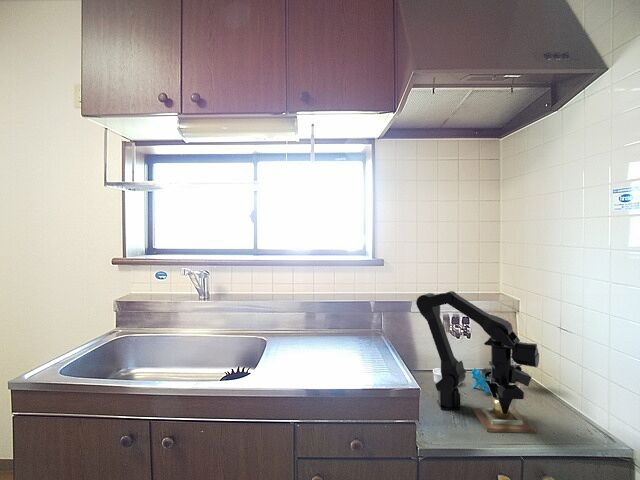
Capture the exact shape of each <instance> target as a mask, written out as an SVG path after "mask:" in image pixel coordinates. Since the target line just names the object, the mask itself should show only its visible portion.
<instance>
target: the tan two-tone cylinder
mask: <svg viewBox="0 0 640 480" xmlns="http://www.w3.org/2000/svg"><path fill="white" fill-rule="evenodd" d="M492 408H493V413H494V414H495V415H497V416H499V417H509V416H510V408H511V406H510V407H509V409H508V412H507V414H503V412H502V409H501V406H500V404H499V401H498V398H497V397H492Z"/></svg>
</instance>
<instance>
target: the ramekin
mask: <svg viewBox="0 0 640 480" xmlns="http://www.w3.org/2000/svg"><path fill="white" fill-rule="evenodd" d="M432 373H433V382H434V383H435V384H436V383H437V382H439V381H440V380H441V379H442V375H441V367H438V368H437V367H436V368H433V370H432Z"/></svg>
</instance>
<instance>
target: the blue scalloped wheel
mask: <svg viewBox="0 0 640 480" xmlns="http://www.w3.org/2000/svg"><path fill="white" fill-rule="evenodd" d="M470 374H471V378H472V379H474V380H473V381H474V383H475V384H473V385H472V387H471V388H472V389H475V388H477V387H478V388H479V389H480V390H481V391H482V390H483V389H484V390H483V392H484V393H485V394H487V393H488V394H491V392H490V390H489V388H488V386H487V384H486V382H485V381H488V377H487V379H484V378H483V377H482V370H481V369H479V368H478V369H477V368H476V367H474V368H473V369H472V371H471V372H470Z"/></svg>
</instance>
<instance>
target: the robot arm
mask: <svg viewBox="0 0 640 480" xmlns="http://www.w3.org/2000/svg"><path fill="white" fill-rule="evenodd" d="M415 304H416V307H417V309H418V311H419V313H420V315H421V316H422V317H423V318H424V319H425V320H426V322H427V324H428V327H429V330H430V333H431V335H432V336H431V337H432V340H433V341H434V345H435V348H436V350H437V351H436V352H437V353H438V354H437V355H438V356H439V359H440V368H441V375H442V379H441V380H440V381H439V382H437V383H435V388H436V391H437V393H438V394H437V395H438V396H437V397H438V398H437V400H436V402H437V405H438V406H439V408H440V410H443V411H445V410H447V411H450V410H454V411H461V393H460V391H459V390H460V389H459V388H458V387H459V386H460V385H461V384H462V383H463V382H464V381H465V380H466V377H467V375H466V373H467V370H466V369H465V367H464V363H463V361H462V360H459V361H458V359H457V358H456V357H455V356H454V353H453V350H452V347H451V343H450V342H449V338H448V335H447V333H446V330H445V327H444V324H443V322H442V319H441V306H443V305H449V306H450V307H452V308H453V309H455V310H457V311H458V312H460V313H461V314H463V315H464V316H466V317H467V318H469V319H470V320H471V321H474V322H475V323H476V324H478V325H479V326H480V327H481V328H482V330H483V331H484V332H485V333H486V334H487V335H488V336H489V338H488V339H487V340H486V341H485V342H484V343H483V345H485V346H489V347H490V348H491V349H490V350H491V351H490V353H491V354H490V355H491V358H490V359H491V360H489V361H488V364H489V366H491V367H490V368H488V367H486V368H485V367H484V368H483V369H482V370H481V373H482V377H483V378H484V379H487V377H488V381H485V382H486V384H487V386H488V388H489V390H490V392H491V393H490V394H491V397H492V398H493V397H497V398H498V401H499V404H500V406H501V409H502V412H503V414H507V412H508V409H509V407H510V408H511V403H512V401H513V400H524V399H525V391H523V390H522V389H521V387H520V386H519V385H517V384H516V383H520V384H522V385H524V386H525V387H529V385H530V383H531V380H532V376H531V375H530V374H529V373H528V372H525V371H524V370H523V369H522V366H525V367H526V366H527V367H532V368H538V367H539V363H540V353H539V348H538V344H537V343H532V342H530V343H529V342H521V340H520V338H519V337H518V335H517V334H516V333H515V331H514V329H513V324H512V323H511V322H510V321H508V320H506V319H504V318H501V317H499V316H497V315H494V314H489V313H487V312H486V311H485V310H483V309H481V308H479V307H478V306H477V305H475V304H473V303H472V302H470V301H468V300H467V299H466V298H464V297H463V296H461V295H459V294H457V292H455V291H454V290H450V291H447V292H444V293H438V294H434V292H432V293H431V292H428V293H426V294H425V293H424V294H421V295H419V296H418V297H417V299H416V301H415ZM511 353H512V359H513V361H514V362H516V364H520V365H522V366H521V367H520V366H518V365H516V364H515V365H514V366H512V365H511ZM512 383H514V385H510V384H512ZM518 386H519V387H520V388H519V387H518Z"/></svg>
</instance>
